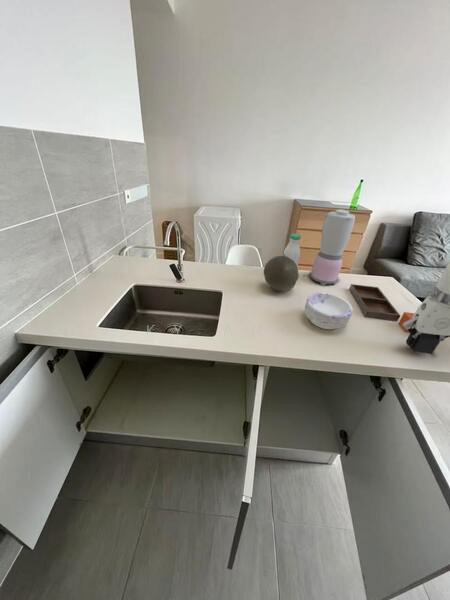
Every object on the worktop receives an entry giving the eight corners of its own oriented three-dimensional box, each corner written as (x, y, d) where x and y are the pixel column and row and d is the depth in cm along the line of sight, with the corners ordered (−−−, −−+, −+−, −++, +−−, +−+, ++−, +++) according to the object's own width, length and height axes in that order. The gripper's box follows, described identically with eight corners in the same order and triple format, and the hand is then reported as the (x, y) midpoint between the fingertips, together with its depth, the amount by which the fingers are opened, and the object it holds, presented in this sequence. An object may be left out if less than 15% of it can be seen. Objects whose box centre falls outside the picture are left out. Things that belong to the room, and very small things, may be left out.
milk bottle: (297, 274, 121) (306, 234, 111) (292, 279, 116) (301, 238, 105) (282, 270, 125) (290, 231, 114) (277, 275, 119) (284, 235, 108)
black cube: (423, 343, 77) (430, 330, 75) (431, 354, 73) (440, 341, 70) (406, 341, 78) (413, 328, 75) (414, 351, 74) (421, 339, 71)
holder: (375, 292, 109) (378, 287, 108) (397, 321, 90) (400, 315, 89) (349, 289, 110) (350, 284, 109) (364, 317, 92) (367, 311, 90)
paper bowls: (337, 341, 79) (345, 321, 74) (294, 321, 87) (299, 302, 83) (352, 321, 89) (359, 303, 84) (312, 305, 97) (317, 287, 93)
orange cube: (412, 325, 89) (419, 313, 86) (419, 333, 84) (426, 322, 82) (398, 323, 89) (404, 312, 86) (404, 331, 85) (410, 320, 82)
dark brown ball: (282, 280, 114) (288, 250, 106) (301, 295, 103) (309, 262, 95) (256, 284, 110) (260, 253, 102) (272, 300, 98) (278, 266, 91)
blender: (341, 285, 113) (366, 214, 97) (319, 287, 110) (340, 214, 94) (322, 271, 126) (340, 206, 110) (301, 272, 123) (316, 206, 107)
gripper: (422, 300, 64) (394, 351, 73) (495, 307, 61) (457, 359, 71) (408, 286, 70) (385, 335, 80) (474, 293, 68) (442, 342, 77)
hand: (419, 346), depth 75 cm, fingers closed on black cube, 5 cm apart
